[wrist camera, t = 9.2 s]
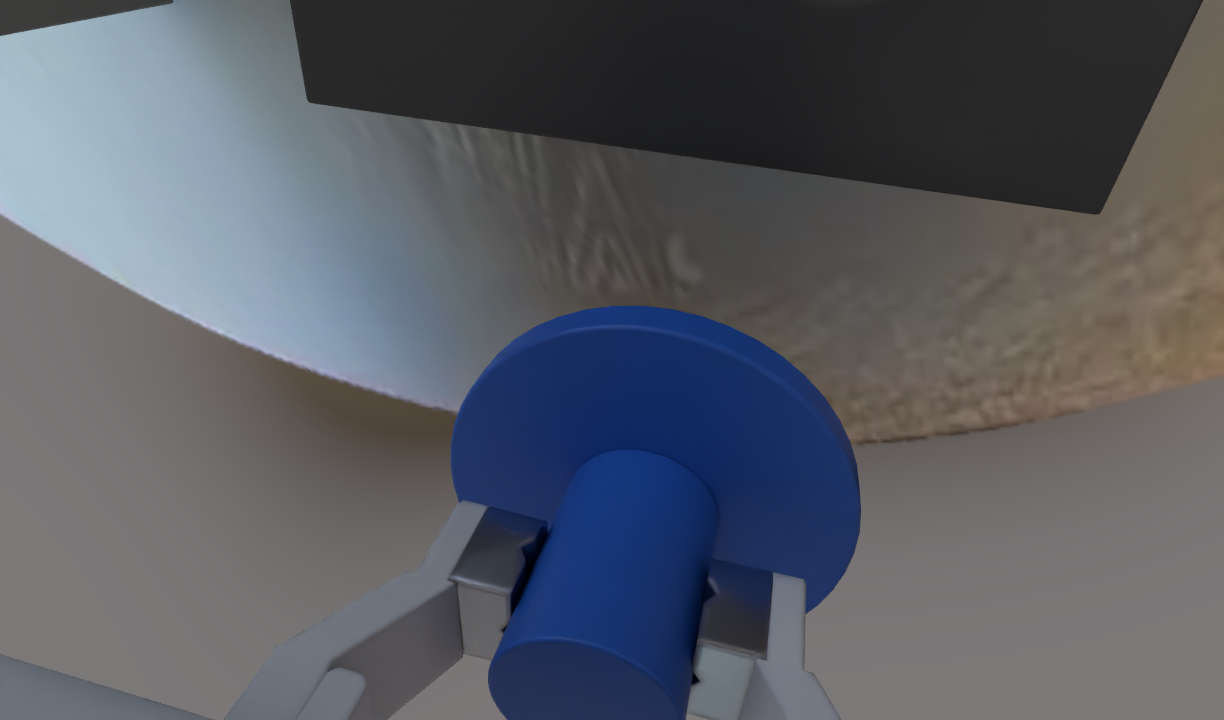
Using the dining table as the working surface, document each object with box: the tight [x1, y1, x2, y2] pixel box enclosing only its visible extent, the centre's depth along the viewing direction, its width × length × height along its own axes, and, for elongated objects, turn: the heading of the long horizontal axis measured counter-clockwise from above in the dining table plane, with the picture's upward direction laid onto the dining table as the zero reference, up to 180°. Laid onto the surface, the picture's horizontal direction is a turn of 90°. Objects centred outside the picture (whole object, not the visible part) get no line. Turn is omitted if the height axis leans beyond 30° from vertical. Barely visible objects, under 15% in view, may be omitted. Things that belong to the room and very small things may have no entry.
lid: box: [451, 306, 861, 720], centre depth 12 cm, size 8×8×5 cm
